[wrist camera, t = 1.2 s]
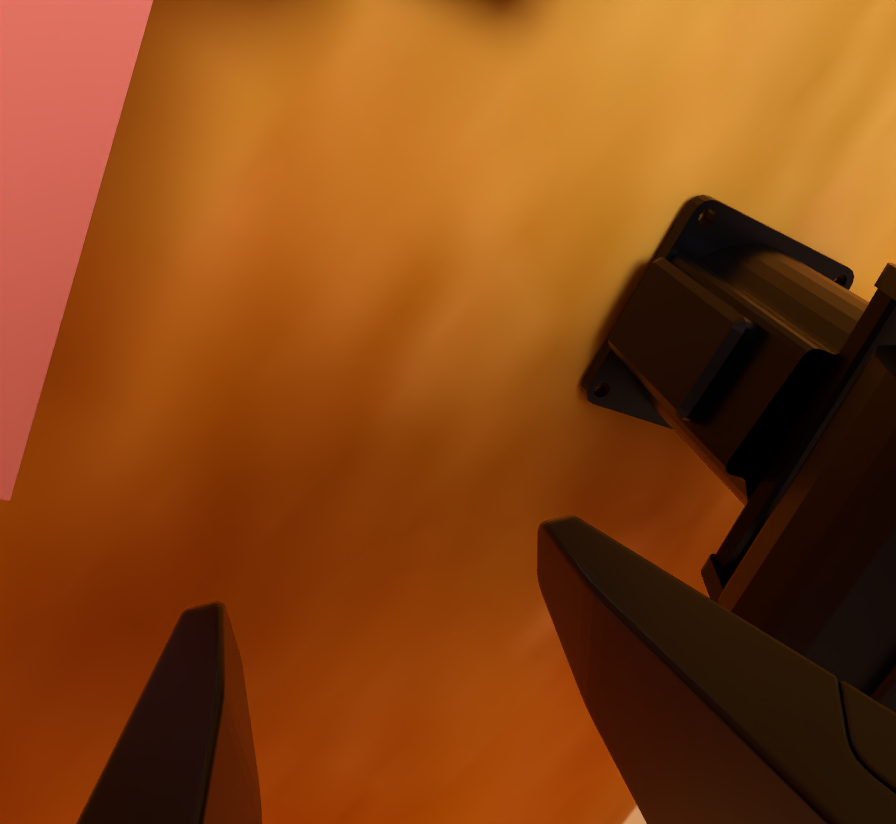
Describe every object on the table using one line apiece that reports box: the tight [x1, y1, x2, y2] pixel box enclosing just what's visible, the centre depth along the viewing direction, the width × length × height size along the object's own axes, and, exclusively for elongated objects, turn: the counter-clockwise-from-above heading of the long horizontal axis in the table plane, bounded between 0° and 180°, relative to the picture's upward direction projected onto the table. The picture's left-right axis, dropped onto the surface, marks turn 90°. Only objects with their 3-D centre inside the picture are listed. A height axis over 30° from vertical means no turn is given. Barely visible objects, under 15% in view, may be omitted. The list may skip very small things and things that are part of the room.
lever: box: [0, 0, 153, 501], centre depth 10 cm, size 14×3×2 cm, turn 153°
